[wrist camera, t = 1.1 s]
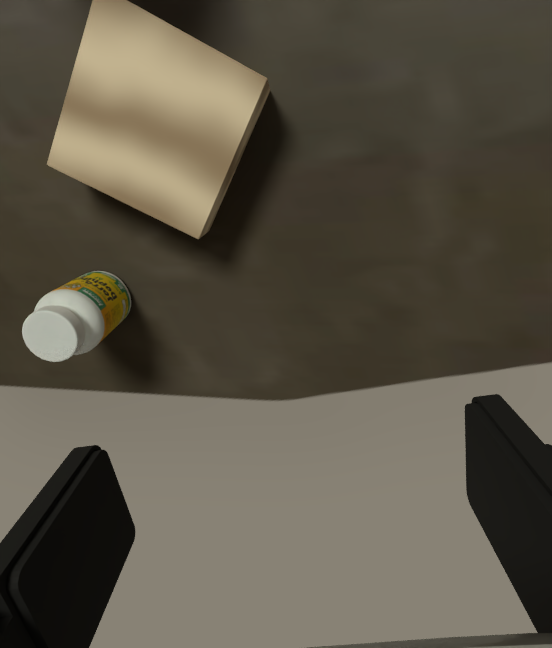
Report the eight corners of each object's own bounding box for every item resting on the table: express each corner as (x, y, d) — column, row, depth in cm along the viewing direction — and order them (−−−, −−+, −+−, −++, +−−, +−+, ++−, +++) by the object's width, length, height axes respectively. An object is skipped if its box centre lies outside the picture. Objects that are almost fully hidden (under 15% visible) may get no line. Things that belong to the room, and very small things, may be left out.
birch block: (125, 11, 32) (97, -17, 27) (270, 91, 33) (267, 78, 28) (78, 165, 35) (46, 164, 31) (209, 230, 37) (198, 239, 32)
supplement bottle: (69, 312, 40) (4, 354, 31) (82, 260, 38) (17, 289, 29) (124, 333, 40) (76, 381, 31) (140, 282, 38) (94, 318, 29)
